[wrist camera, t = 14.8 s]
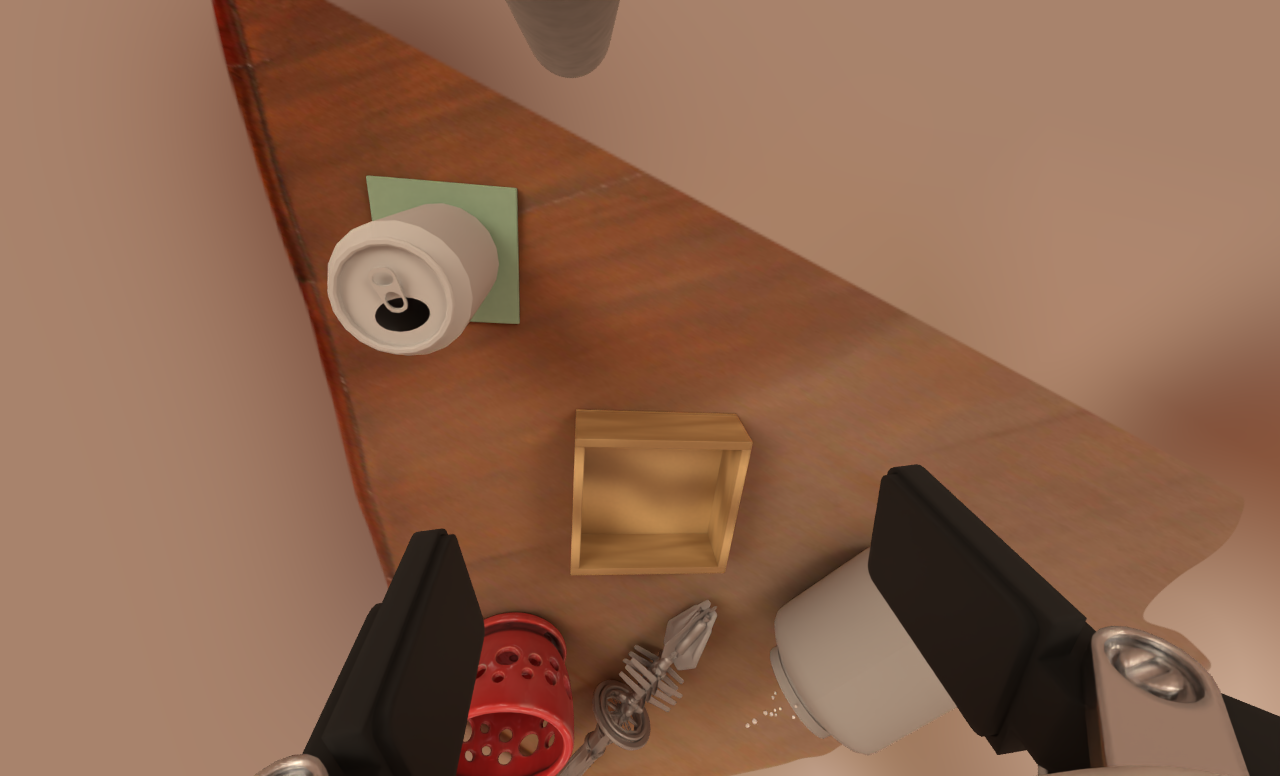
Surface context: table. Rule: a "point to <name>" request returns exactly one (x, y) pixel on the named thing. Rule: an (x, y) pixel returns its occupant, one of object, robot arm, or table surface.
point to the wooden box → (656, 491)
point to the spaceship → (643, 688)
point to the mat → (481, 202)
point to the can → (412, 278)
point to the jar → (853, 664)
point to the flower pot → (520, 699)
